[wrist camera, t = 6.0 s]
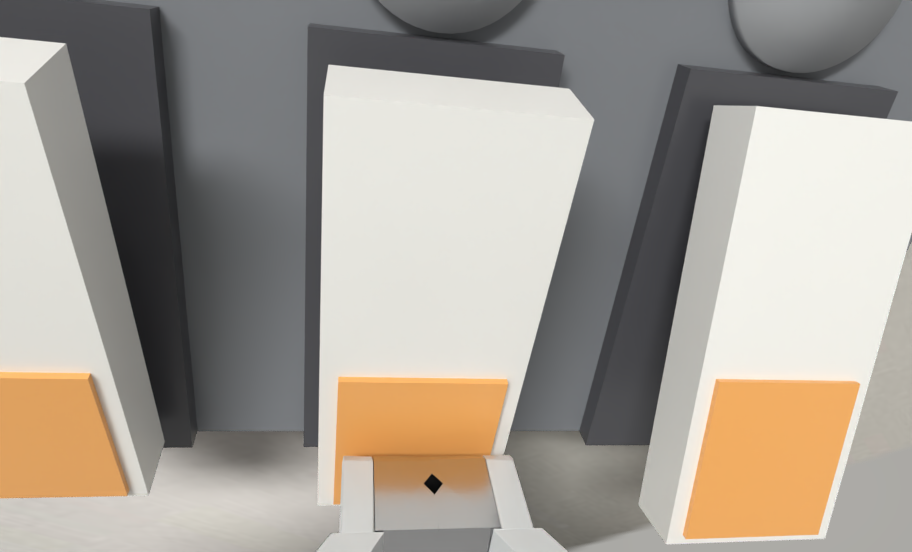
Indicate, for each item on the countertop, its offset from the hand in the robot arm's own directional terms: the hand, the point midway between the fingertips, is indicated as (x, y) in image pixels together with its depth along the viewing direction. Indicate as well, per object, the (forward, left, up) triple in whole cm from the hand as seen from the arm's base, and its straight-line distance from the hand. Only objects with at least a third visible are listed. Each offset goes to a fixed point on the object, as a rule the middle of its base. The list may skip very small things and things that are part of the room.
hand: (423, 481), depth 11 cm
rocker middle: (0, -3, -1) cm, 3 cm away
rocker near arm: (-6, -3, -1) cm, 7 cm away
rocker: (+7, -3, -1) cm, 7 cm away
